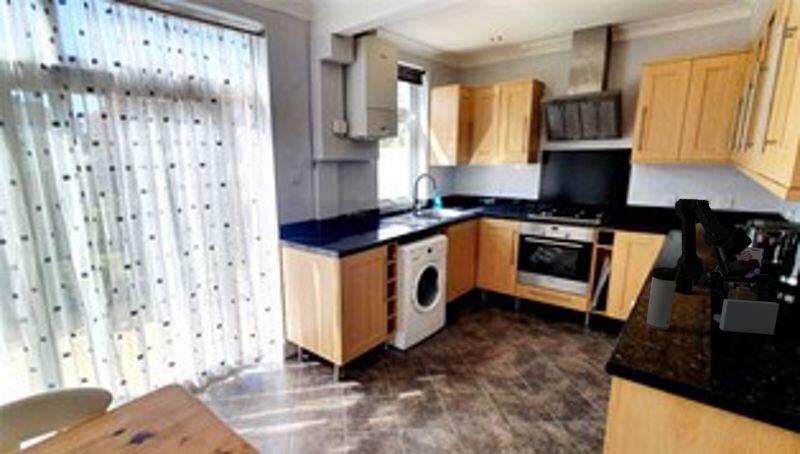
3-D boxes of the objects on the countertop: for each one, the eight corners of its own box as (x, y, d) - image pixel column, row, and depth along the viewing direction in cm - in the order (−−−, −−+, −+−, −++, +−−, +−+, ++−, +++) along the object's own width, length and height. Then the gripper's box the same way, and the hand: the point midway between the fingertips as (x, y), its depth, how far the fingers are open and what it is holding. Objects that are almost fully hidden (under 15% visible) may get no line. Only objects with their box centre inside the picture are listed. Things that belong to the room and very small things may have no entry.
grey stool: (705, 318, 134) (709, 290, 132) (751, 321, 131) (756, 293, 130) (723, 330, 124) (727, 301, 123) (773, 334, 122) (779, 304, 120)
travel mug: (673, 331, 123) (682, 271, 120) (651, 329, 125) (658, 270, 121) (664, 323, 129) (672, 266, 126) (643, 321, 131) (650, 264, 127)
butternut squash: (675, 269, 196) (681, 220, 192) (697, 268, 198) (704, 220, 194) (700, 277, 182) (708, 225, 178) (724, 276, 185) (732, 224, 181)
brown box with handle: (723, 321, 131) (729, 284, 129) (740, 323, 130) (746, 285, 128) (732, 328, 126) (739, 289, 124) (750, 329, 125) (757, 290, 123)
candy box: (717, 280, 178) (722, 245, 175) (718, 277, 183) (723, 243, 180) (757, 287, 169) (764, 250, 166) (758, 284, 173) (764, 248, 171)
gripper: (709, 248, 130) (724, 290, 121) (773, 251, 126) (794, 294, 117) (693, 264, 139) (706, 304, 130) (753, 267, 135) (770, 309, 126)
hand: (743, 303), depth 126 cm, fingers open, 9 cm apart
